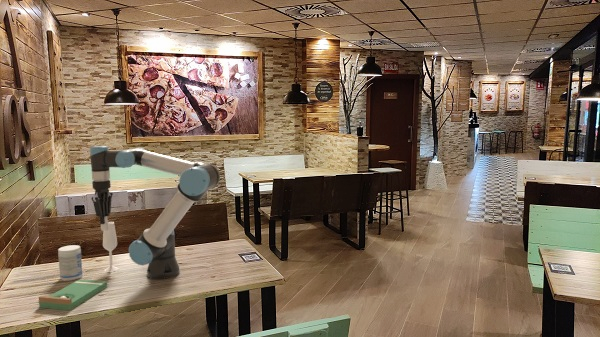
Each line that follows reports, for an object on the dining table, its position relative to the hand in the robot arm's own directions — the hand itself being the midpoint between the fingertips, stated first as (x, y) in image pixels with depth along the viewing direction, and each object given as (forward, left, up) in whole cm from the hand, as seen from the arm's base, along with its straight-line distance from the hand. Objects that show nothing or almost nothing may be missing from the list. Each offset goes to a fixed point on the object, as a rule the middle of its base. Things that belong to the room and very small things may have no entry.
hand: (104, 230), depth 202 cm
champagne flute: (+6, -13, -24) cm, 28 cm away
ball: (+2, +26, -23) cm, 35 cm away
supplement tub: (+19, +1, -24) cm, 31 cm away
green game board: (+2, +19, -24) cm, 31 cm away
